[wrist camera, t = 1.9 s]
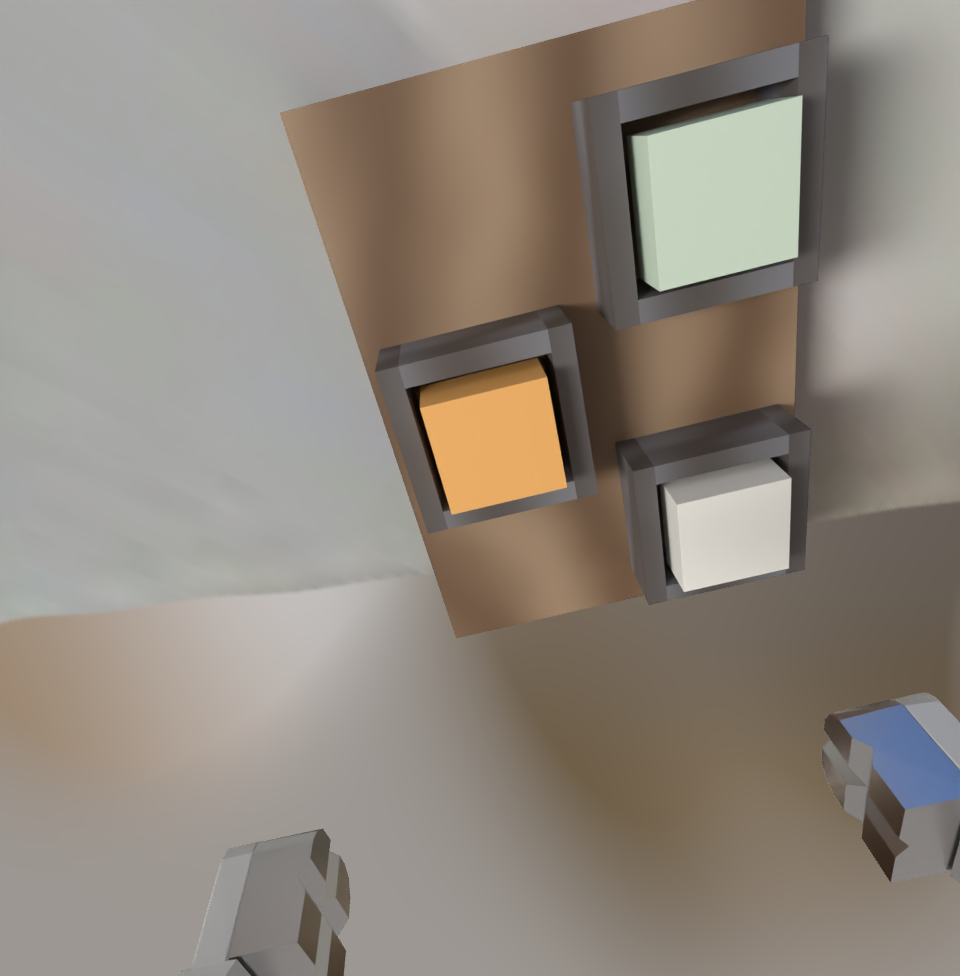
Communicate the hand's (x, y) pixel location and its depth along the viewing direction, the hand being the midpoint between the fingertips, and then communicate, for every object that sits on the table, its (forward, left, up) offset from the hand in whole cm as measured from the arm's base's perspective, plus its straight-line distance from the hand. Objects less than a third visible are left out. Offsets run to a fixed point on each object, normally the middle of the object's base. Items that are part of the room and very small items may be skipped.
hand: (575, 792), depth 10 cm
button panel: (-4, 0, -18) cm, 19 cm away
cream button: (-8, +6, -15) cm, 18 cm away
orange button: (0, 0, -15) cm, 15 cm away
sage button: (-8, -6, -15) cm, 18 cm away
